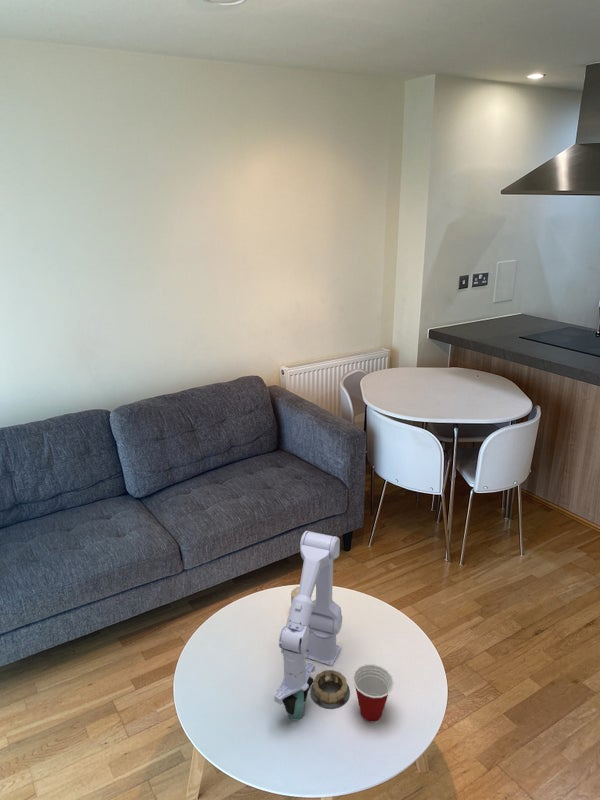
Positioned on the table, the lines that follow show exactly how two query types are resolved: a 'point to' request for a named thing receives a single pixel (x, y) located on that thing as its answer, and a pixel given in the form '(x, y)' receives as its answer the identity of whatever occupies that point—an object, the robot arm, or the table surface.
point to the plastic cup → (372, 690)
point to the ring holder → (330, 689)
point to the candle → (294, 593)
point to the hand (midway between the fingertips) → (295, 706)
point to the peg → (298, 706)
